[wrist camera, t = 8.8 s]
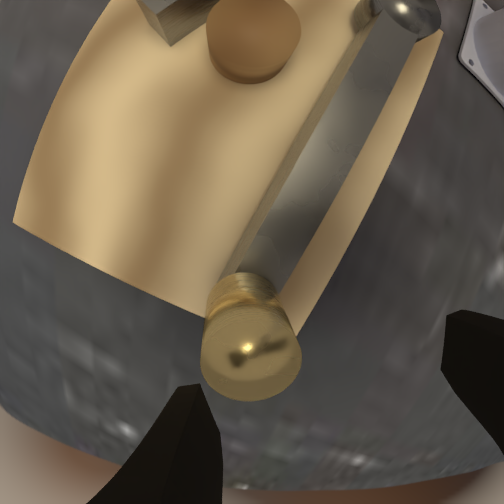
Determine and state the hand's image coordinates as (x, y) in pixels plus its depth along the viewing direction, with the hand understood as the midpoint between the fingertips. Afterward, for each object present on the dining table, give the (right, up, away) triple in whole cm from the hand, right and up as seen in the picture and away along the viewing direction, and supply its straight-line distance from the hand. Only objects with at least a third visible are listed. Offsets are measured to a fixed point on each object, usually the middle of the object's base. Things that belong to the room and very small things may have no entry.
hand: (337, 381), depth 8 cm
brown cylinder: (-2, +14, +6) cm, 15 cm away
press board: (-3, +12, +7) cm, 14 cm away
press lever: (+1, +9, +6) cm, 11 cm away
